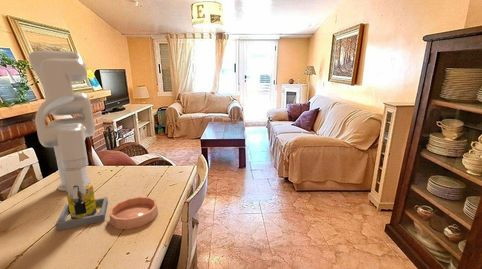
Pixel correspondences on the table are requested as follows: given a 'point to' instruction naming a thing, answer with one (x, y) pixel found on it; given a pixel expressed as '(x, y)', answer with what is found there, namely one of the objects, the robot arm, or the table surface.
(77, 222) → the open square frame
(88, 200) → the supplement box
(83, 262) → the table surface
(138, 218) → the bowl
